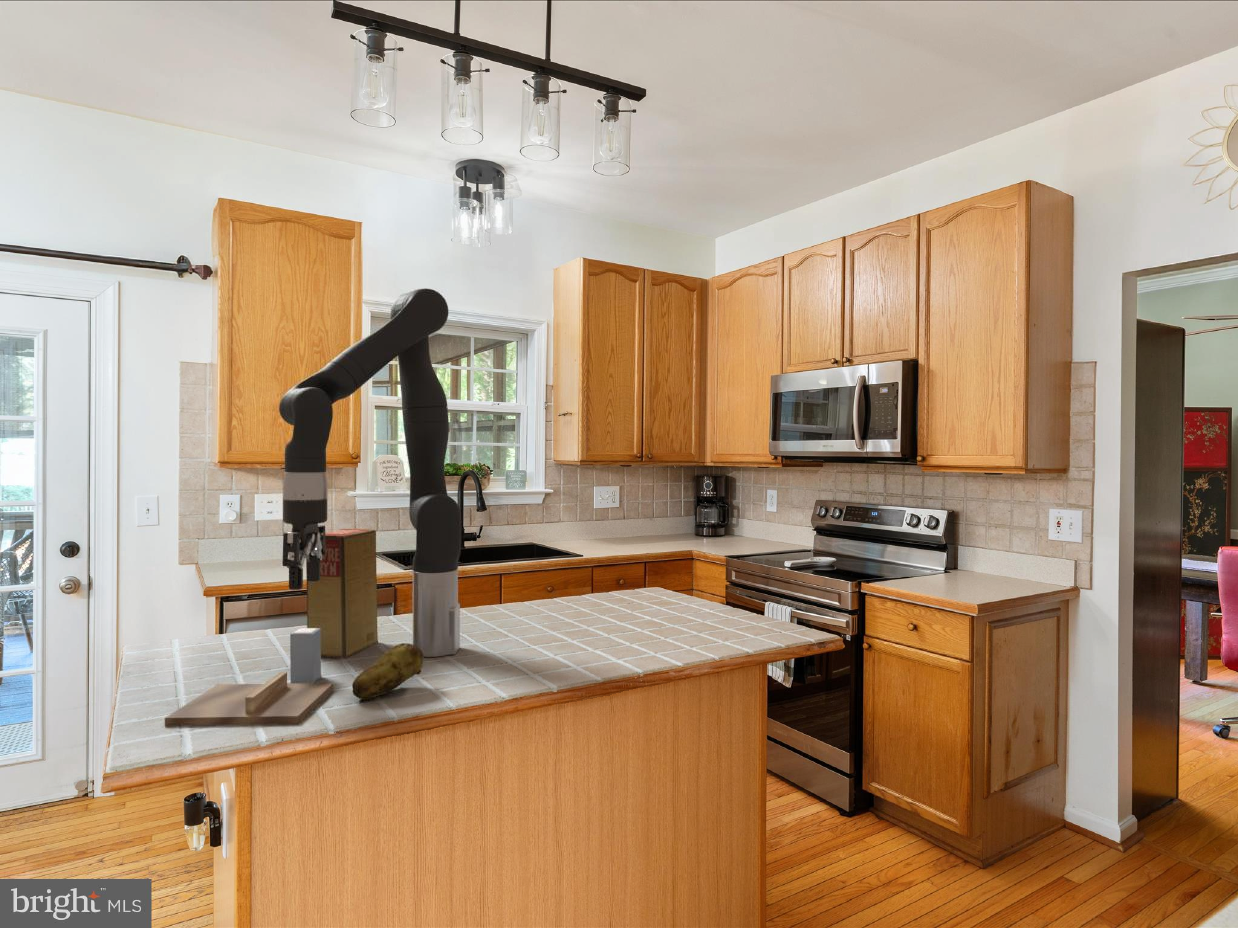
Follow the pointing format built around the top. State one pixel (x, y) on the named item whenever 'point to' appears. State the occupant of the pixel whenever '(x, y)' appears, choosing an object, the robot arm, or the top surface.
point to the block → (305, 655)
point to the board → (252, 703)
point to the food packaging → (345, 593)
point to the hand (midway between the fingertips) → (305, 584)
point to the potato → (388, 671)
